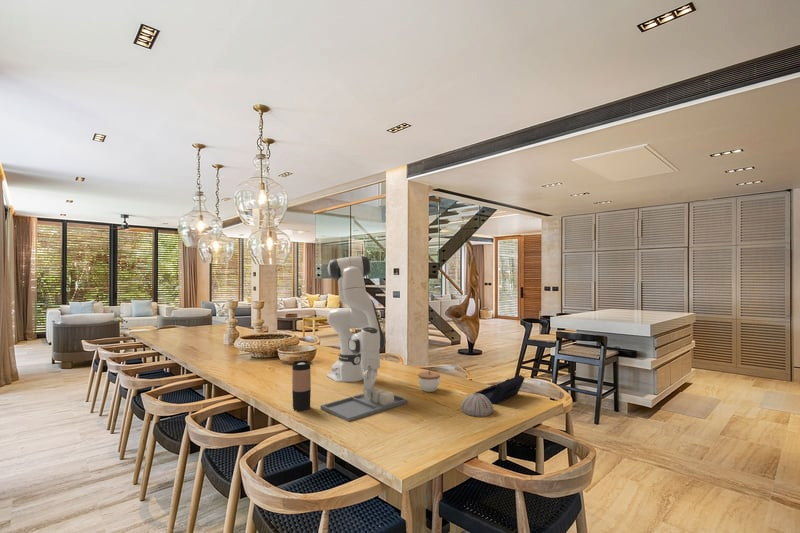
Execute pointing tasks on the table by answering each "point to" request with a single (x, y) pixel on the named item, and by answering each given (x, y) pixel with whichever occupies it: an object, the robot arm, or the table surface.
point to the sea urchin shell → (477, 405)
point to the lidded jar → (429, 381)
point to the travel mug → (301, 385)
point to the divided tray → (358, 407)
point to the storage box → (503, 389)
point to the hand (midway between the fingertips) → (370, 394)
